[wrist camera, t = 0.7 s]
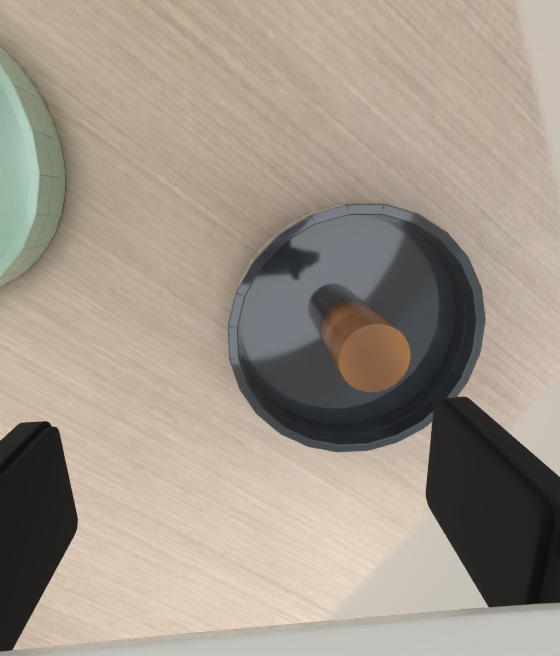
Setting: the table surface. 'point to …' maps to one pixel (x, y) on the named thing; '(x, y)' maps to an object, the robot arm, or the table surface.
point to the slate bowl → (377, 292)
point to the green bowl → (26, 172)
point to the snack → (364, 346)
